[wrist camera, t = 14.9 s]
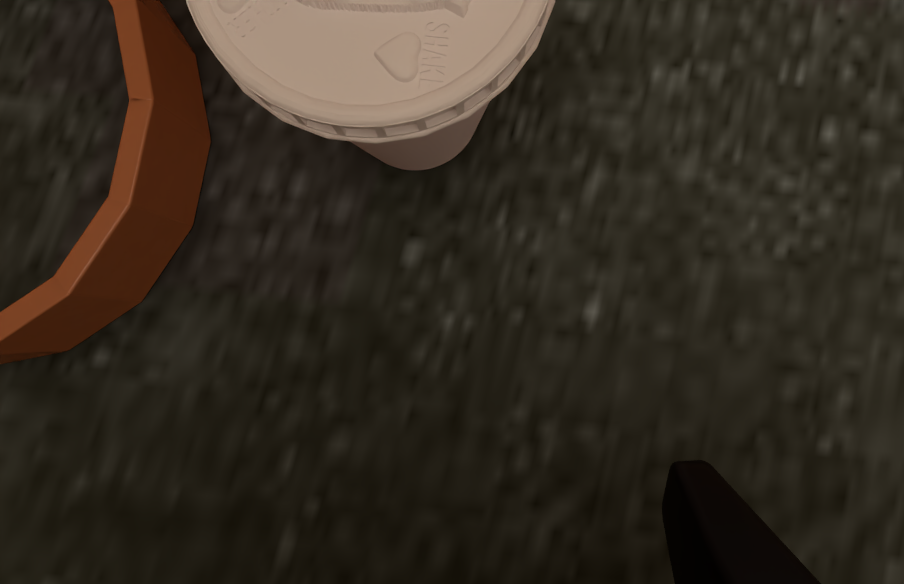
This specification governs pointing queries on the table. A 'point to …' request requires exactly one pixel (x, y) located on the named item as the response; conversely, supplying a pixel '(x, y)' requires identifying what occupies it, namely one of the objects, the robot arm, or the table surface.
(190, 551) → the table surface
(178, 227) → the copper pot
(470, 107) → the smoothie
